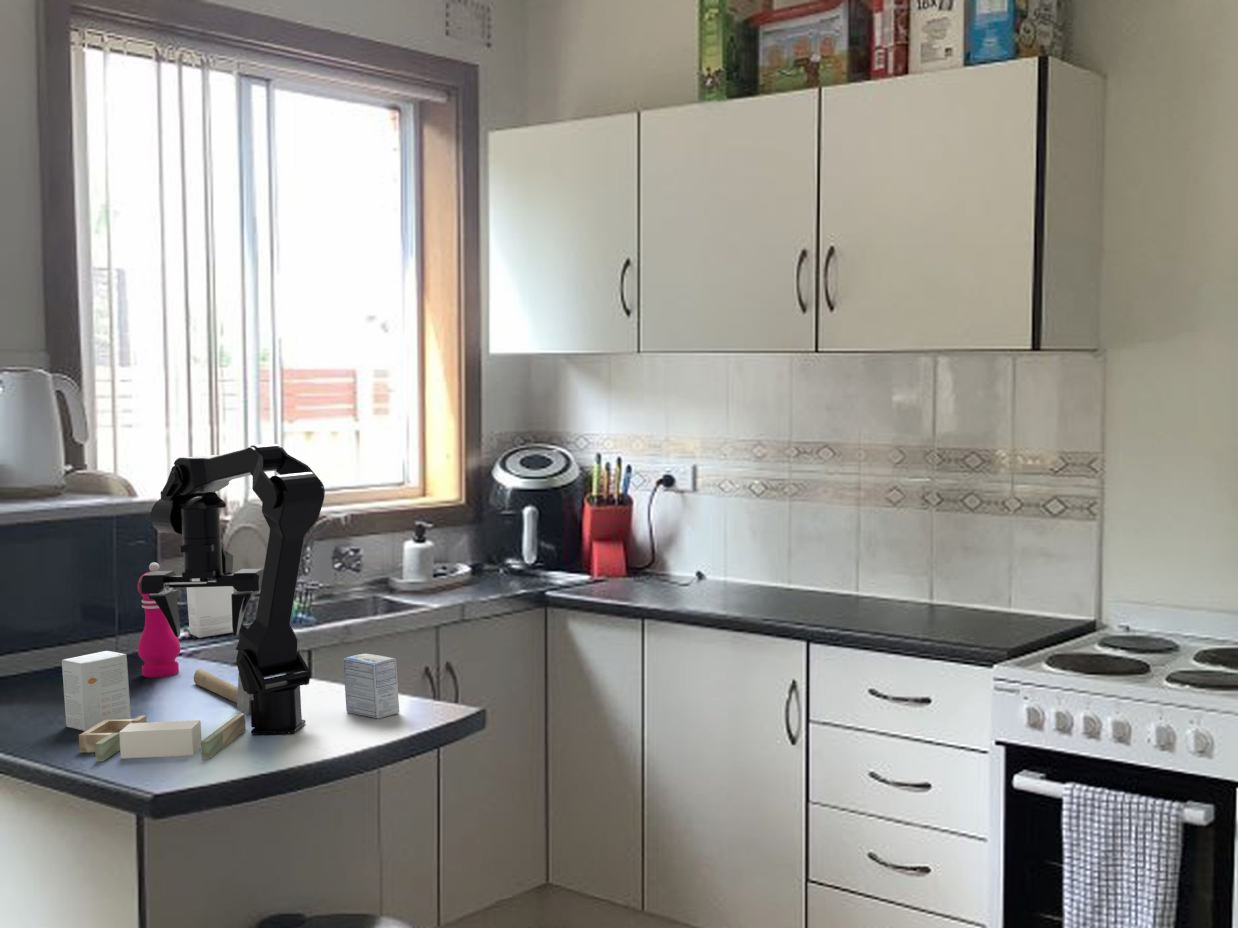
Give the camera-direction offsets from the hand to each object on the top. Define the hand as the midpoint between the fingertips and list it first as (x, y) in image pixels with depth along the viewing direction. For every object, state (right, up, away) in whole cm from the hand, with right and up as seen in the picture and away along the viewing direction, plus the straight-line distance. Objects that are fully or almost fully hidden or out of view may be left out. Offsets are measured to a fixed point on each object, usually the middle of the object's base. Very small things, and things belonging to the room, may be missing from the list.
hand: (206, 635), depth 232 cm
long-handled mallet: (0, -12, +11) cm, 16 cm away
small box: (-16, -13, -4) cm, 21 cm away
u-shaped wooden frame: (-2, -14, -18) cm, 23 cm away
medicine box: (+26, -12, -3) cm, 29 cm away
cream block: (0, -14, -22) cm, 26 cm away
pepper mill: (-17, -11, +33) cm, 38 cm away
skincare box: (-19, -8, +72) cm, 74 cm away
